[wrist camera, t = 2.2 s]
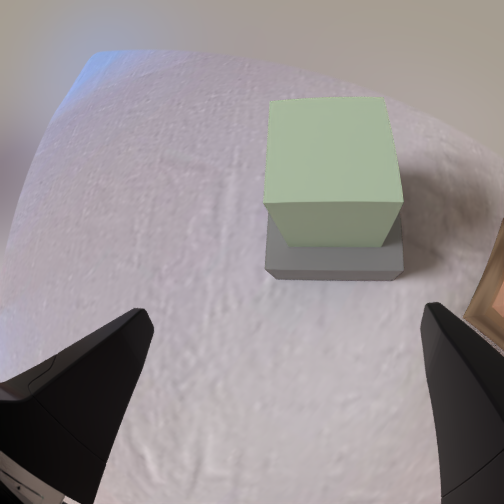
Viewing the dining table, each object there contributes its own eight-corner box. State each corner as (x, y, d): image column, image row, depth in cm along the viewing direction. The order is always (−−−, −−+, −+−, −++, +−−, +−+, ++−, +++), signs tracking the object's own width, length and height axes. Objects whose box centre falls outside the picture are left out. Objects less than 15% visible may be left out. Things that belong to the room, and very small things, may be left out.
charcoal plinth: (391, 280, 20) (403, 270, 16) (276, 279, 23) (264, 269, 19) (384, 174, 22) (390, 148, 19) (281, 176, 25) (271, 151, 21)
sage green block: (380, 247, 17) (403, 202, 11) (288, 247, 19) (263, 202, 12) (373, 165, 19) (383, 97, 12) (291, 166, 20) (269, 101, 14)
